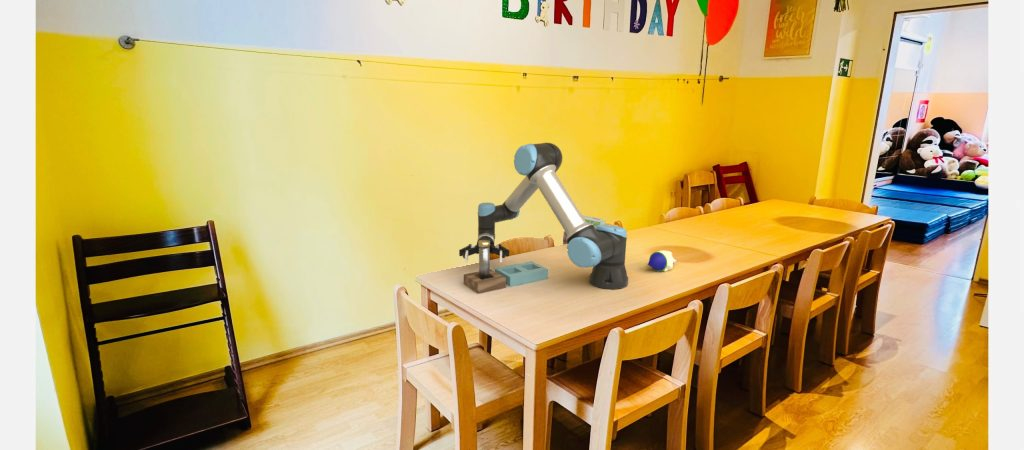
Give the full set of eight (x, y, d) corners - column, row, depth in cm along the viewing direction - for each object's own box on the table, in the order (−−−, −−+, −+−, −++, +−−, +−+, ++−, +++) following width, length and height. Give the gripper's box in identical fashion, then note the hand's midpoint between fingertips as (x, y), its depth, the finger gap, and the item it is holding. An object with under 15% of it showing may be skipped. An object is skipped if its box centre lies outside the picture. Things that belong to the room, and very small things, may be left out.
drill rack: (548, 278, 202) (548, 269, 201) (510, 286, 192) (510, 277, 192) (531, 270, 212) (531, 261, 211) (494, 277, 202) (494, 268, 201)
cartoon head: (676, 272, 219) (651, 281, 206) (660, 257, 224) (635, 264, 211) (687, 258, 214) (662, 266, 201) (671, 243, 219) (646, 250, 206)
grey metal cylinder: (492, 286, 193) (492, 241, 188) (482, 288, 190) (481, 243, 186) (486, 283, 196) (486, 239, 192) (476, 285, 194) (476, 240, 190)
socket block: (505, 287, 191) (505, 277, 190) (478, 293, 185) (478, 283, 184) (490, 278, 201) (490, 269, 200) (463, 283, 195) (463, 274, 194)
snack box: (563, 243, 253) (564, 214, 249) (569, 241, 257) (570, 212, 253) (598, 251, 239) (600, 221, 235) (604, 249, 243) (606, 219, 239)
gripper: (514, 252, 216) (515, 268, 195) (456, 252, 215) (451, 268, 195) (514, 235, 214) (515, 249, 193) (456, 235, 214) (451, 249, 193)
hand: (483, 259), depth 194 cm, fingers open, 13 cm apart
